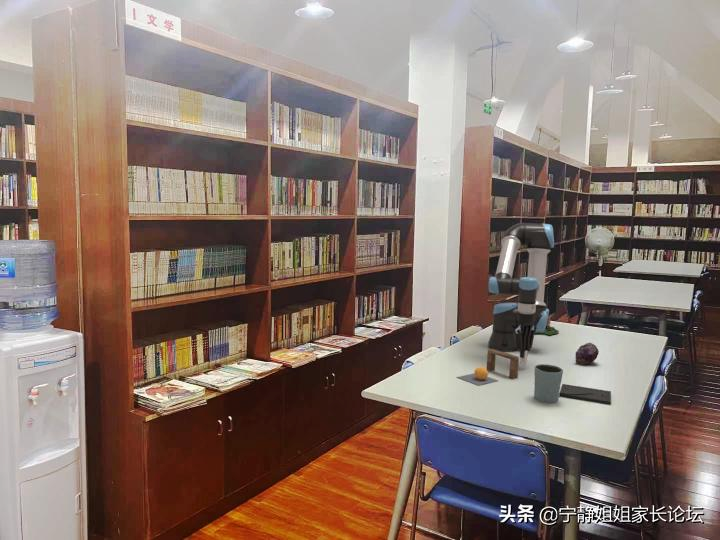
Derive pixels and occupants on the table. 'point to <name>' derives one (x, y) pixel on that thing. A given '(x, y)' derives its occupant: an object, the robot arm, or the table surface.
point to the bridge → (513, 359)
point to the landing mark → (474, 380)
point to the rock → (586, 354)
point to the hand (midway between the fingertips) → (523, 364)
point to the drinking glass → (547, 383)
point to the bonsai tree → (548, 320)
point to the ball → (481, 373)
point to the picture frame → (585, 394)
